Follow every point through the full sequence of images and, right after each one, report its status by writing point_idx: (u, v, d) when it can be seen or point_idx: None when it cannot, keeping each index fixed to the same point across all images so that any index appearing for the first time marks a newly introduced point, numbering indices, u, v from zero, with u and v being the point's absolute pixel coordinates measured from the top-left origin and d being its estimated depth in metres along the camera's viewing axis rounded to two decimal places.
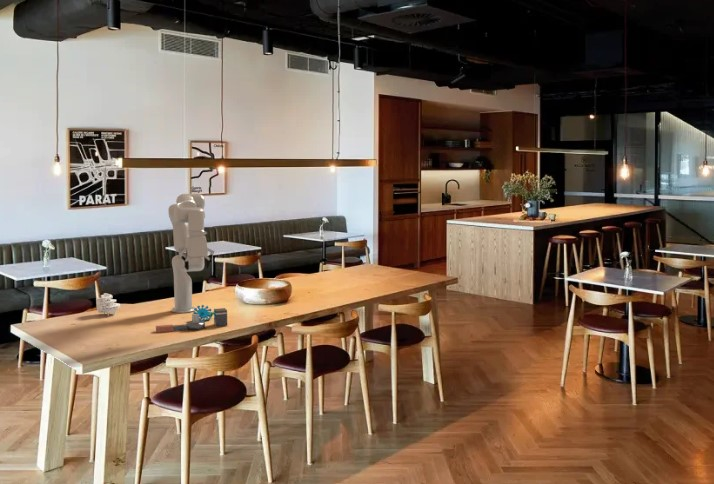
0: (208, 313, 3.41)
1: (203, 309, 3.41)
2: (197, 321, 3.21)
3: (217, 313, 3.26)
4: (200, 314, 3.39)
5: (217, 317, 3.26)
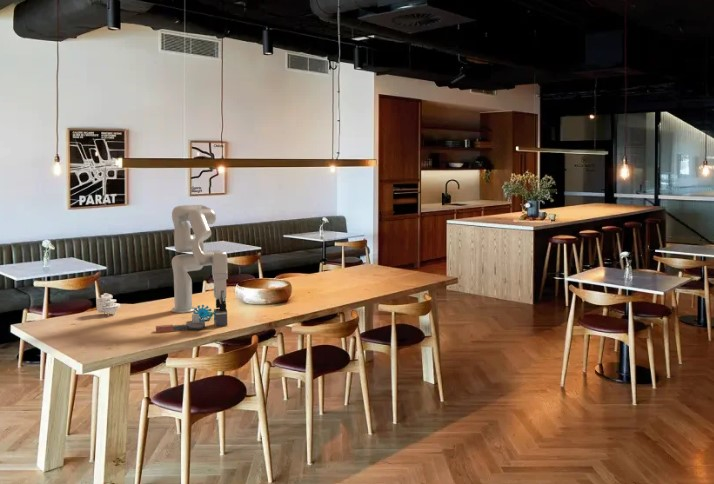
0: (208, 313, 3.41)
1: (203, 309, 3.41)
2: (197, 321, 3.21)
3: (217, 313, 3.26)
4: (200, 314, 3.39)
5: (217, 317, 3.26)
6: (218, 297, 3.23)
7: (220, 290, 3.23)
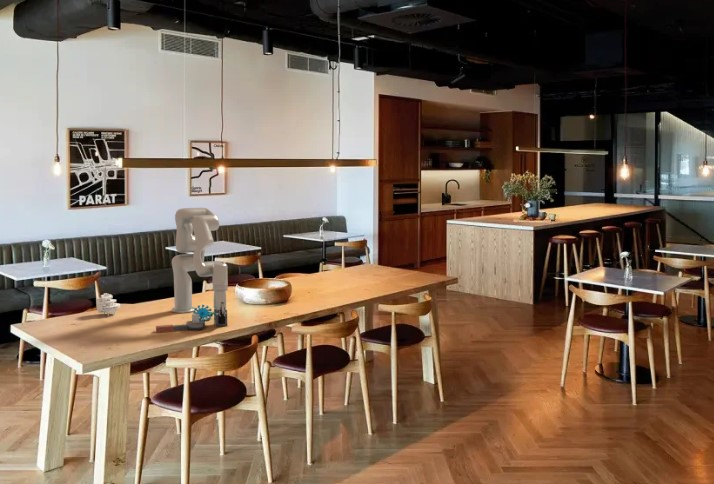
0: (208, 313, 3.41)
1: (203, 309, 3.42)
2: (197, 321, 3.21)
3: (217, 313, 3.26)
4: (200, 314, 3.39)
5: (217, 317, 3.26)
6: (218, 309, 3.24)
7: (220, 302, 3.24)
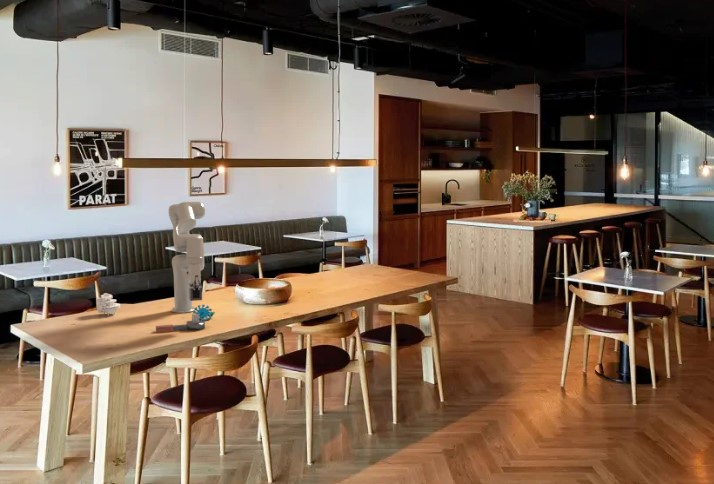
0: (208, 313, 3.41)
1: (203, 309, 3.42)
2: (197, 321, 3.21)
3: (191, 287, 3.16)
4: (200, 314, 3.39)
5: (191, 291, 3.17)
6: (192, 282, 3.14)
7: (194, 275, 3.14)
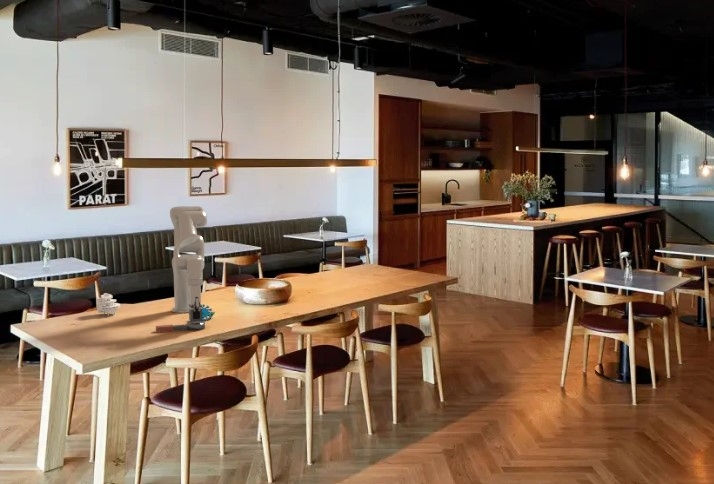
0: (208, 313, 3.41)
1: (203, 309, 3.42)
2: None
3: (192, 308, 3.18)
4: None
5: (192, 312, 3.18)
6: (192, 303, 3.16)
7: (194, 296, 3.16)
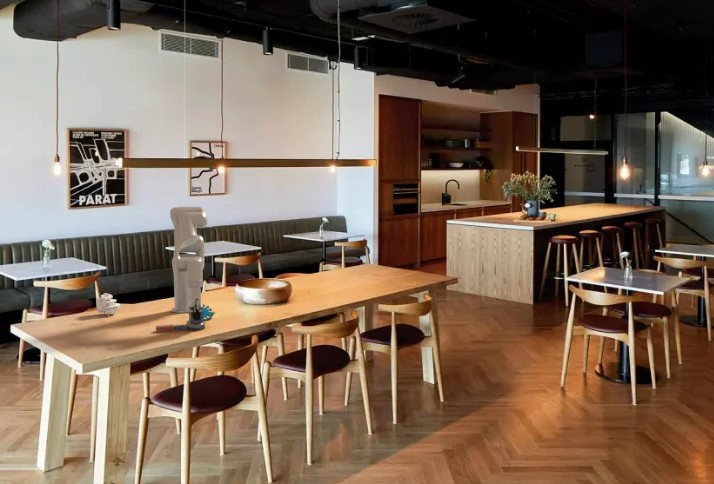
0: (208, 313, 3.42)
1: (203, 309, 3.42)
2: None
3: (192, 310, 3.18)
4: None
5: (192, 314, 3.18)
6: (192, 305, 3.16)
7: (194, 298, 3.16)
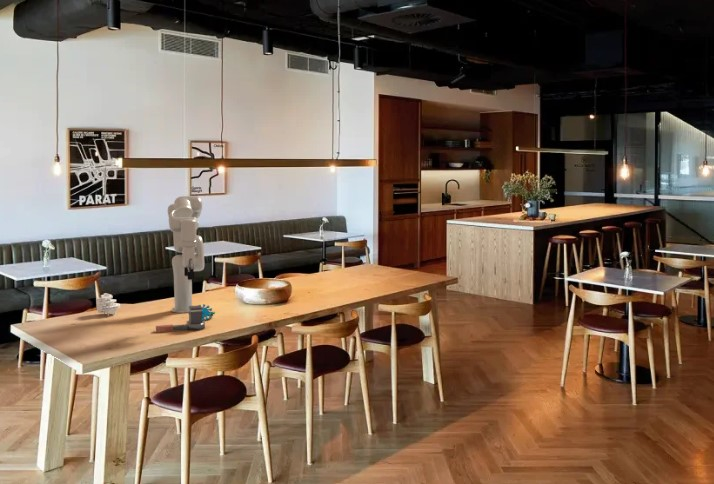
0: (208, 313, 3.42)
1: (204, 308, 3.43)
2: None
3: (192, 310, 3.18)
4: None
5: (192, 314, 3.18)
6: (186, 265, 3.17)
7: (188, 258, 3.17)
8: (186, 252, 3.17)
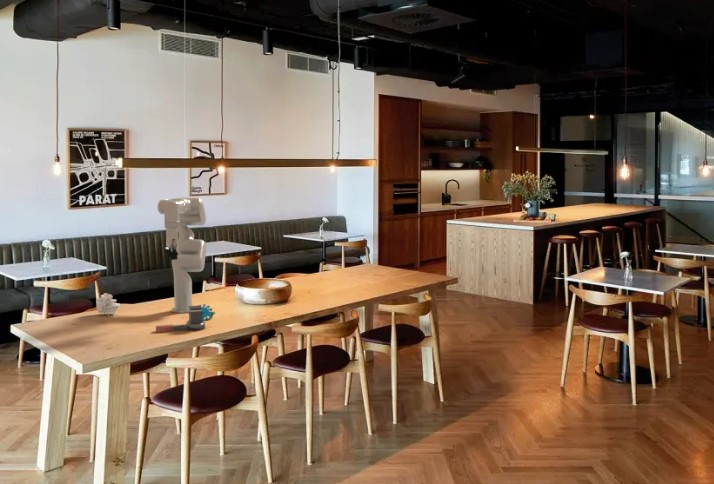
0: (208, 313, 3.42)
1: (204, 308, 3.43)
2: None
3: (192, 310, 3.18)
4: None
5: (192, 314, 3.18)
6: (169, 245, 3.27)
7: (171, 238, 3.27)
8: (169, 233, 3.27)
